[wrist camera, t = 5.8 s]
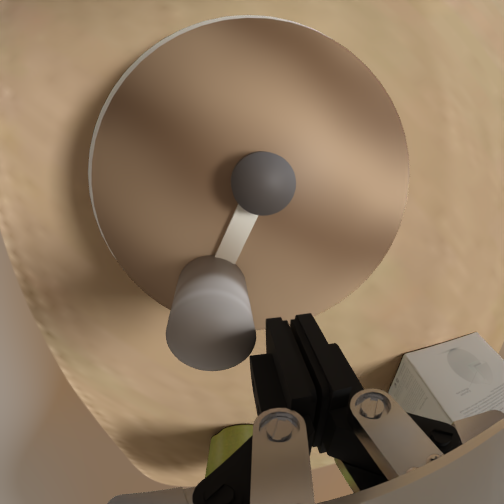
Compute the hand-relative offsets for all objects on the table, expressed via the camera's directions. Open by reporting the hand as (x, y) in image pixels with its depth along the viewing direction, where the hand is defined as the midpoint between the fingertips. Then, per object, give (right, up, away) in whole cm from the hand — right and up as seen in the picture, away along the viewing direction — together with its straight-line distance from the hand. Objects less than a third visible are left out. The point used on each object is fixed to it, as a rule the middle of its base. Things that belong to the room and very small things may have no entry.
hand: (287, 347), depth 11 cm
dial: (-1, +7, +2) cm, 7 cm away
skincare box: (+17, -8, +13) cm, 22 cm away
